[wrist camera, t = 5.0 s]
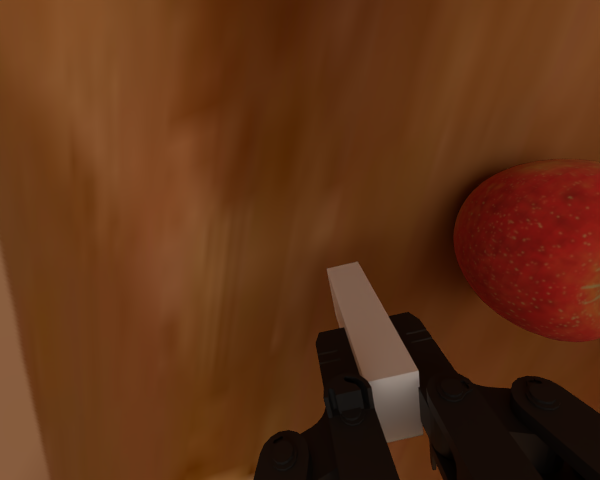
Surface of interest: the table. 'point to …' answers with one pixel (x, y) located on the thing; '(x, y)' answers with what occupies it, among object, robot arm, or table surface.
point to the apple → (536, 246)
